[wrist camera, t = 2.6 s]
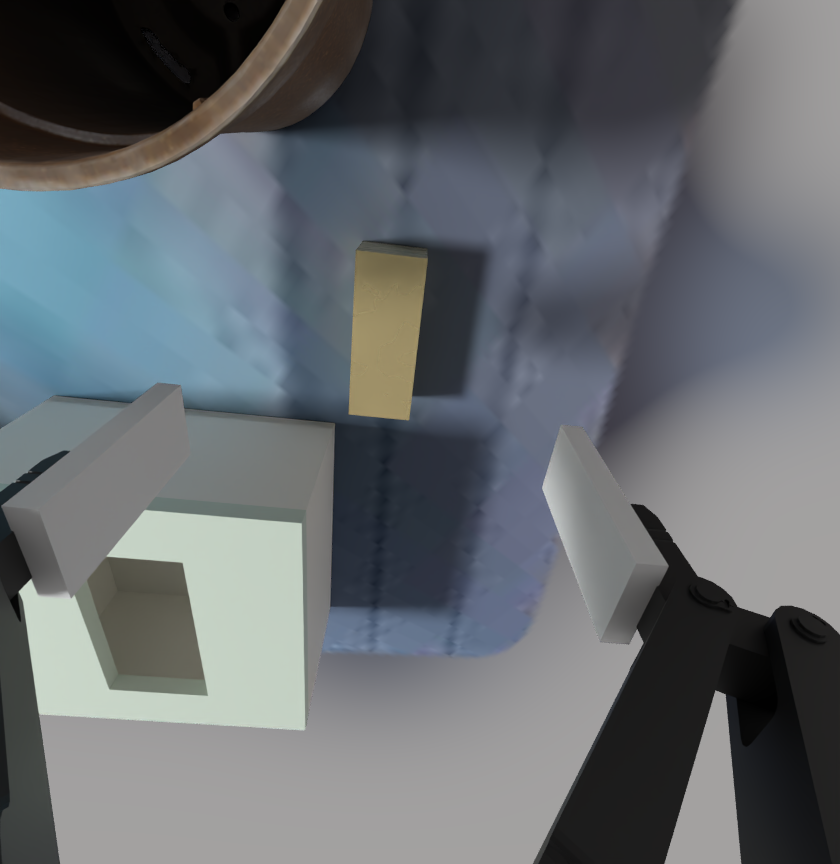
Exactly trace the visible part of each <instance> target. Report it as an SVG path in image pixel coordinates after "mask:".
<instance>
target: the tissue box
mask: <svg viewBox="0 0 840 864" xmlns="http://www.w3.org/2000/svg"><path fill="white" fill-rule="evenodd" d="M130 404H131V403H124V402H113V401H103V400H93V399H83V398H72V397H62V396H52V397H51V398H49V399H47V400H46V401H44V402H43V403H41V404H39V405H38V406H36V407H35V408H33V409H31V410H30V411H28V412H27V413H25V414H23V415H22V416H20V417H19V418H17V419H15V420H14V421H12V422H10V423H9V424H7V425H6V426H4V427H2V428H1V429H0V492H1V491H2V490H3V489H5V488H6V487H7V486H9V485H10V484H11V483H15V482H16V480H17V479H18V478H19V477H21V476H22V475H23V474H25V473H28V471H29V470H30V469H31V468H33V467H34V466H35V465H37V464H38V463H39V462H40V461H42V460H43V459H45V458H48V457H50V456H52V455H54V454H57V453H59V452H61V451H63V450H65V451H72V450H73V449H74V448H75V447H77V446H78V445H79V444H80V443H82V442H83V441H84V440H86V439H87V438H88V437H89V436H91V435H92V434H93V433H94V432H96V431H97V430H98V429H99V428H101V427H102V426H103V425H105V424H106V423H107V422H108V421H110V420H111V419H112V418H113V417H115V416H116V415H117V414H118V413H120V412H121V411H122V410H124V409H125V408H126V407H127V406H129V405H130ZM184 411H185V417H186V424H187V431H188V437H189V444H190V450H191V455H190V456H189V457H188V458H187V459H186V461H185V462H184V463H183V464H182V466H181V467H180V468H179V469H178V470H177V472H176V473H175V474H174V475H173V476H172V478H171V479H170V480H169V481H168V482H167V484H166V485H165V486H164V487H163V488H162V490H161V491H160V492H159V493H158V495H157V496H156V497H155V498H154V499H153V501H152V502H151V503H150V504H149V505H148V507H147V508H146V509H145V510H144V511H143V513H142V514H141V515H140V516H139V517H138V519H137V520H136V521H135V522H134V524H133V525H132V526H131V527H130V528H129V530H128V531H127V532H126V533H125V534H124V536H123V537H122V538H121V539H120V540H119V542H118V543H117V544H116V545H115V546H114V548H113V549H112V550H111V551H110V553H109V554H108V555H107V556H106V557H105V559H104V560H103V561H102V562H101V563H100V565H99V566H98V567H97V568H96V569H95V571H94V572H93V573H92V574H91V575H90V577H89V578H88V579H87V580H86V582H85V583H84V584H83V585H82V586H81V588H80V589H79V590H78V591H77V592H76V594H75V595H74V596H73V597H72V598H71V599H65V598H53V597H40V596H38V594H37V592H36V589H35V587H34V585H33V582H32V580H31V579H30V580H29V581H28V583H27V584H26V585H25V586H24V587H23V588H22V589H21V590H20V591H19V593H20V596H21V598H22V600H23V605H24V612H25V619H26V626H27V633H28V640H29V648H30V655H31V662H32V669H33V676H34V683H35V690H36V697H37V704H38V711H39V714H44V715H61V716H78V717H94V718H95V717H96V718H111V719H127V720H143V721H160V722H177V723H193V724H209V725H226V726H243V727H260V728H275V729H292V730H305V729H306V725H307V720H308V714H309V710H310V705H311V700H312V695H313V690H314V685H315V680H316V675H317V670H318V666H319V660H320V656H321V651H322V646H323V641H324V636H325V631H326V626H327V621H328V616H329V611H330V602H331V562H332V522H333V482H334V443H335V423H329V422H318V421H308V420H298V419H288V418H277V417H267V416H257V415H247V414H236V413H226V412H216V411H206V410H195V409H185V408H184Z"/></svg>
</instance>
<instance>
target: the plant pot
mask: <svg viewBox="0 0 840 864" xmlns="http://www.w3.org/2000/svg"><path fill="white" fill-rule="evenodd" d="M227 3H233V4H234V5H236V6H237V8H238V11H239V14H240V17H239V19H238V20H237V21H233V22H232V21H230V20H229V19H228V18H227V17H226V15H225V13H224V6H225V4H227ZM372 4H373V0H0V188H1V189H10V190H19V191H60V190H75V189H81V188H87V187H93V186H99V185H105V184H110V183H114V182H117V181H122V180H126V179H130V178H133V177H136V176H140V175H143V174H146V173H150V172H153V171H155V170H157V169H159V168H162V167H164V166H166V165H169V164H171V163H173V162H176V161H178V160H180V159H181V158H183V157H185V156H186V155H188V154H190V153H192V152H193V151H195V150H197V149H198V148H200V147H202V146H203V145H205V144H206V143H208V142H209V141H211V140H212V139H214V138H215V137H216V136H218V135H219V134H224V133H238V132H263V131H273V130H278V129H281V128H284V127H287V126H290V125H293V124H295V123H297V122H299V121H301V120H303V119H304V118H306V117H308V116H309V115H311V114H312V113H313V112H314V111H316V110H317V109H318V108H320V107H321V106H322V105H323V104H324V103H325V102H326V101H327V100H328V99H329V98H330V97H331V96H332V95H333V94H334V93H335V91H336V90H337V89H338V88H339V87H340V85H341V84H342V82H343V81H344V80H345V78H346V77H347V75H348V74H349V72H350V70H351V68H352V66H353V64H354V63H355V60H356V58H357V56H358V54H359V52H360V49H361V47H362V44H363V41H364V38H365V35H366V32H367V28H368V24H369V20H370V16H371V11H372ZM142 27H144V28H147V29H149V30H151V31H152V32H153V33H154V34H155V35H156V36H157V38H158V39H159V41H160V43H161V44H162V45H163V46H164V47H165V48H166V49H167V51H168V52H169V53H170V54H172V56H173V58H174V59H177V61H178V62H179V63H181V64H182V65H183V66H185V67H186V68H187V69H188V71H189V74H190V77H191V82H190V83H189V84H187V83H183V82H182V81H181V80H180V79H178V78H177V77H176V76H175V75H174V74H173V73H172V72H171V71H170V70H169V69H168V68H167V67H166V66H165V65H164V63H163V62H162V61H161V60H160V58H159V57H158V56H157V55H156V54H155V53H154V52H153V50H152V49H151V47H150V46H149V45H148V43H147V41H146V39H145V38H144V36H143V34H142V32H141V28H142Z"/></svg>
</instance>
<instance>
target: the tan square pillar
mask: <svg viewBox="0 0 840 864" xmlns="http://www.w3.org/2000/svg"><path fill="white" fill-rule="evenodd" d="M427 262H428V255H427V249H426V248H418V247H410V246H402V245H393V244H385V243H377V242H369V241H362V243H361V244H360V245H359V247H358V248H357V249H356V261H355V284H354V307H353V330H352V352H351V375H350V398H349V414H350V415H360V416H370V417H380V418H390V419H400V420H409V416H410V407H411V399H412V390H413V382H414V373H415V365H416V356H417V347H418V339H419V330H420V322H421V313H422V305H423V296H424V287H425V279H426V270H427Z"/></svg>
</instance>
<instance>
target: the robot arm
mask: <svg viewBox="0 0 840 864" xmlns="http://www.w3.org/2000/svg"><path fill="white" fill-rule="evenodd" d="M190 455H191V450H190V444H189V437H188V431H187V424H186V417H185V411H184V404H183V397H182V391H181V385H175V384H165V383H157V384H155V385H154V386H153V387H151V388H150V389H149V390H148V391H146V392H145V393H144V394H143V395H141V396H140V397H139V398H137V399H136V400H135V401H134V402H132V403H131V404H130V405H129V406H127V407H126V408H125V409H124V410H122V411H121V412H120V413H118V414H117V415H116V416H115V417H113V418H112V419H111V420H110V421H108V422H107V423H106V424H105V425H103V426H102V427H101V428H99V429H98V430H97V431H96V432H94V433H93V434H92V435H91V436H89V437H88V438H87V439H86V440H84V441H83V442H82V443H80V444H79V445H78V446H77V447H75V448H74V449H73V450H72V451H65V450H63V451H61V452H59V453H57V454H54V455H52V456H50V457H48V458H45V459H43V460H42V461H40V462H39V463H38V464H37V465H35V466H34V467H33V468H31V469H30V470H29V471H28V473H25V474H23V475H22V476H21V477H19V478H18V479H17V480H16V482H15V483H11V484H10V485H9V486H7V487H6V488H5V489H3V490H2V491H1V492H0V864H60V861H59V854H58V847H57V840H56V832H55V825H54V818H53V811H52V804H51V797H50V790H49V783H48V775H47V768H46V761H45V755H44V747H43V740H42V733H41V726H40V719H39V711H38V704H37V697H36V690H35V683H34V676H33V669H32V662H31V655H30V648H29V640H28V633H27V626H26V619H25V612H24V605H23V600H22V598H21V596H20V593H19V591H20V590H21V589H22V588H23V587H24V586H25V585H26V584H27V583H28V581H29V580H30V579H31V580H32V582H33V585H34V587H35V589H36V592H37V594H38V596H40V597H53V598H65V599H71V598H72V597H73V596H74V595H75V594H76V592H77V591H78V590H79V589H80V588H81V586H82V585H83V584H84V583H85V582H86V580H87V579H88V578H89V577H90V575H91V574H92V573H93V572H94V571H95V569H96V568H97V567H98V566H99V565H100V563H101V562H102V561H103V560H104V559H105V557H106V556H107V555H108V554H109V553H110V551H111V550H112V549H113V548H114V546H115V545H116V544H117V543H118V542H119V540H120V539H121V538H122V537H123V536H124V534H125V533H126V532H127V531H128V530H129V528H130V527H131V526H132V525H133V524H134V522H135V521H136V520H137V519H138V517H139V516H140V515H141V514H142V513H143V511H144V510H145V509H146V508H147V507H148V505H149V504H150V503H151V502H152V501H153V499H154V498H155V497H156V496H157V495H158V493H159V492H160V491H161V490H162V488H163V487H164V486H165V485H166V484H167V482H168V481H169V480H170V479H171V478H172V476H173V475H174V474H175V473H176V472H177V470H178V469H179V468H180V467H181V466H182V464H183V463H184V462H185V461H186V459H187V458H188V457H189V456H190ZM542 489H543V492H544V494H545V497H546V500H547V502H548V505H549V508H550V510H551V513H552V516H553V518H554V521H555V524H556V526H557V529H558V532H559V534H560V537H561V540H562V542H563V545H564V548H565V550H566V553H567V555H568V558H569V561H570V564H571V566H572V569H573V572H574V574H575V577H576V580H577V582H578V585H579V588H580V590H581V593H582V596H583V598H584V601H585V604H586V606H587V609H588V611H589V615H590V617H591V620H592V623H593V625H594V628H595V631H596V633H597V636H598V639H599V641H600V642H605V643H617V644H629V643H630V641H631V639H632V638H633V635H634V633H635V632H636V630H637V629H638V631H639V633H640V636H641V638H642V640H643V642H644V644H643V645H642V647H641V649H640V651H639V653H638V655H637V657H636V659H635V661H634V662H633V664H632V666H631V668H630V671H629V673H628V675H627V677H626V679H625V681H624V683H623V685H622V687H621V689H620V691H619V693H618V695H617V697H616V699H615V701H614V703H613V705H612V707H611V709H610V711H609V713H608V715H607V717H606V719H605V721H604V723H603V725H602V727H601V729H600V731H599V733H598V735H597V737H596V739H595V741H594V743H593V745H592V747H591V749H590V751H589V753H588V755H587V757H586V759H585V761H584V763H583V765H582V767H581V769H580V771H579V773H578V775H577V777H576V779H575V781H574V783H573V785H572V787H571V789H570V791H569V793H568V795H567V797H566V799H565V801H564V803H563V805H562V807H561V809H560V811H559V813H558V815H557V817H556V819H555V821H554V823H553V825H552V827H551V829H550V831H549V833H548V835H547V837H546V839H545V841H544V843H543V845H542V847H541V849H540V851H539V853H538V855H537V857H536V859H535V861H534V863H533V864H664V863H665V859H666V856H667V853H668V849H669V846H670V842H671V839H672V836H673V832H674V829H675V826H676V822H677V818H678V815H679V812H680V809H681V805H682V802H683V798H684V795H685V792H686V788H687V785H688V781H689V778H690V775H691V771H692V768H693V764H694V761H695V758H696V754H697V751H698V747H699V744H700V741H701V737H702V734H703V730H704V727H705V724H706V720H707V717H708V713H709V710H710V707H711V703H712V700H713V696H714V693H715V690H716V691H719V692H721V693H724V694H726V702H727V713H728V723H729V735H730V744H731V756H732V767H733V778H734V788H735V799H736V809H737V820H738V832H739V843H740V853H741V863H742V864H840V635H839V633H838V632H837V631H836V630H834V628H833V627H832V626H831V625H830V624H828V623H827V622H826V621H824V620H823V619H821V618H820V617H818V616H817V615H815V614H812V613H810V612H808V611H806V610H804V609H801V608H798V607H794V606H781V607H779V608H778V609H776V610H775V612H774V613H773V614H772V616H771V617H770V618H769V617H766V616H763V615H760V614H757V613H754V612H751V611H748V610H745V609H742V608H739V607H737V605H736V603H735V602H734V600H733V599H732V597H731V596H730V595H729V594H728V593H727V592H726V591H725V590H724V589H722V588H721V587H719V586H717V585H716V584H715V583H713V582H711V581H708V580H706V579H704V578H701V577H698V576H697V575H696V573H695V572H694V570H693V569H692V567H691V566H690V564H689V563H688V561H687V560H686V559H685V557H684V556H683V554H682V553H681V551H680V549H679V548H678V547H677V545H676V544H675V543H673V539H672V538H671V536H670V535H669V533H668V532H666V529H665V527H664V526H663V524H662V523H661V522H660V520H659V519H658V517H657V516H656V515H655V514H653V513H652V512H651V511H650V510H648V509H647V508H646V507H645V506H644V505H637V504H630V503H629V502H628V500H627V498H626V497H625V495H624V493H623V492H622V490H621V488H620V487H619V485H618V484H617V482H616V481H615V479H614V477H613V476H612V475H611V472H610V471H609V469H608V468H607V466H606V464H605V463H604V461H603V460H602V458H601V456H600V455H599V453H598V452H597V450H596V448H595V447H594V445H593V443H592V442H591V440H590V439H589V437H588V435H587V434H586V432H585V431H584V429H583V427H578V426H568V425H561V426H560V429H559V433H558V436H557V440H556V443H555V446H554V450H553V453H552V456H551V460H550V463H549V467H548V470H547V473H546V477H545V480H544V484H543V487H542Z"/></svg>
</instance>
